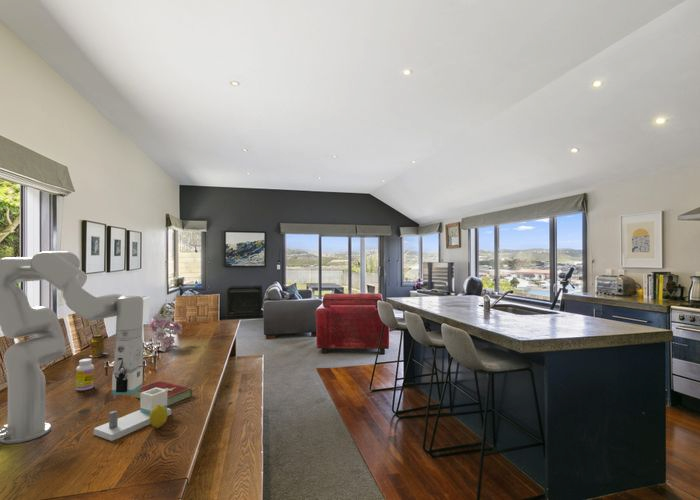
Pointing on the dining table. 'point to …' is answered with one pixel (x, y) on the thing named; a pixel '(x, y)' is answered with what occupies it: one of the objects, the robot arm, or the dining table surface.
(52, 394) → the dining table surface
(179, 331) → the flower
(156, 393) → the seated sleeve
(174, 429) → the dining table surface
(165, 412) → the lemon
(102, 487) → the dining table surface
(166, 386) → the hardcover book
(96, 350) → the condiment
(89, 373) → the supplement bottle
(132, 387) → the sleeve
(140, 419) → the pin board
